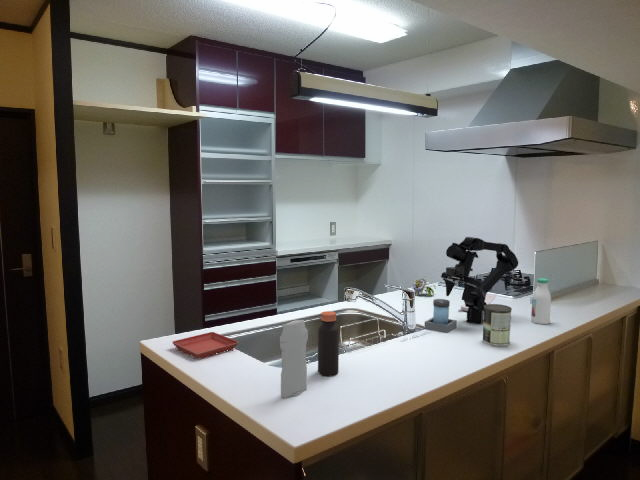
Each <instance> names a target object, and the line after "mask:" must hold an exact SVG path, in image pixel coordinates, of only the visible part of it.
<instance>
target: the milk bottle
mask: <svg viewBox="0 0 640 480" xmlns="http://www.w3.org/2000/svg"><path fill="white" fill-rule="evenodd" d="M536 284H537V286H536V288H535V289H534V292H533V294H532V302H531V315H530V316H531V318H530V319H531V322H532V323H533V324H534V323H535V324H537V325H538V324H539V325H548V324H550V322H551V309H552V308H551V306H552V305H551V304H552V295H551V292H550V289H549V287H548V285H549V279H548V278H542V277H541V278H537V280H536Z"/></svg>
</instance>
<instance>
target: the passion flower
mask: <svg viewBox="0 0 640 480" xmlns="http://www.w3.org/2000/svg"><path fill="white" fill-rule="evenodd" d="M426 279H427V278H426V277H423V278H420V279H416V280H414V283H413V285H412V286H411V287H410V289H411V288H412V290H413V291H414V292H415V293H414V294H415V296H419V295H422V294H423V291H424V292H425V293H426V294H427V296H429V297H432V295H434V293H435V291H434V289H435V290H436V289H437V287H436V285H435V284H434V285H431V286H429V284H430V283H431V281H430V280H428V281H426ZM431 287H434V289H433V288H431Z"/></svg>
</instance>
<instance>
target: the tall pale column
mask: <svg viewBox="0 0 640 480" xmlns="http://www.w3.org/2000/svg"><path fill="white" fill-rule="evenodd" d="M308 337H309V333H308V329H307V328H306V324H305V320H304V319H300V320H298V319H296V320H292V321H290V322H287V323H284V324H283V328H282V333H281V335H280V337H279V349H281V352H280V353H281V372H280V398H281V399H288V398H291V396H292V397H297V396H299V395H301V394H302V393H304V392H306V391H307V388H308V383H307V382H308V378H307V377H308V375H307V374H308V367H307V363H306V362H307V361H306V360H307V357H306V355H307V342H308V339H309V338H308Z"/></svg>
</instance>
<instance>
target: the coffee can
mask: <svg viewBox="0 0 640 480" xmlns="http://www.w3.org/2000/svg"><path fill="white" fill-rule="evenodd" d="M512 309H513V308H512V307H511V306H508V305H505V304H498V303H490V304H487V305H484V319H483V320H484V321H483V322H482V342H483V343H484V344H487V345H491V346H497V347H504V346H506V347H507V346H509V345H510V344H511V342H510V339H511V338H510V337H511V323H512V322H511V321H512V320H511V319H512V318H511V317H512Z"/></svg>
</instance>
